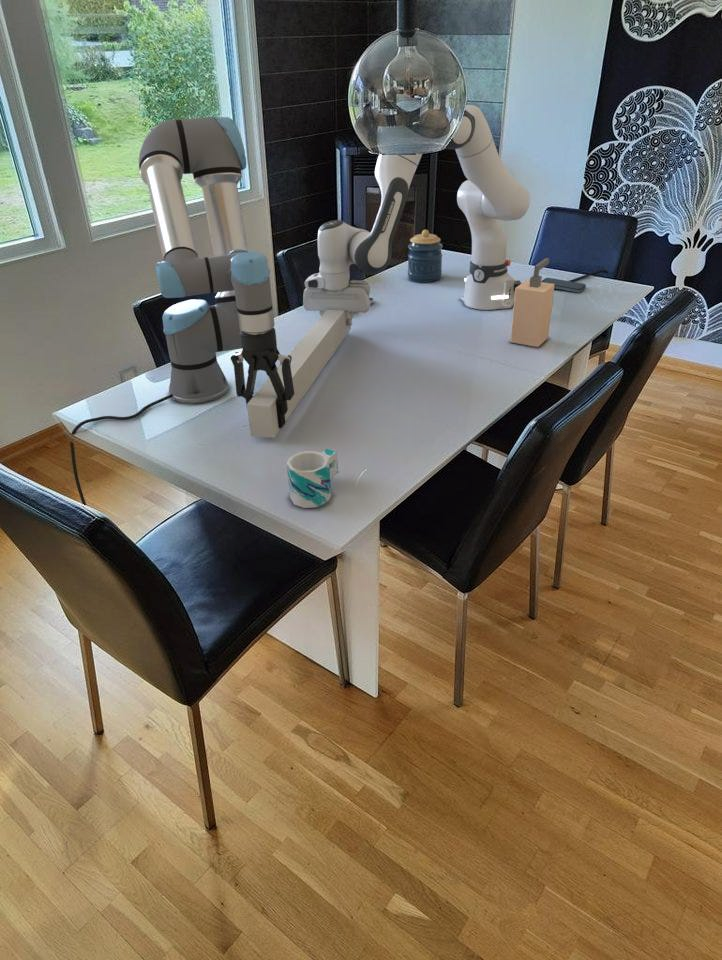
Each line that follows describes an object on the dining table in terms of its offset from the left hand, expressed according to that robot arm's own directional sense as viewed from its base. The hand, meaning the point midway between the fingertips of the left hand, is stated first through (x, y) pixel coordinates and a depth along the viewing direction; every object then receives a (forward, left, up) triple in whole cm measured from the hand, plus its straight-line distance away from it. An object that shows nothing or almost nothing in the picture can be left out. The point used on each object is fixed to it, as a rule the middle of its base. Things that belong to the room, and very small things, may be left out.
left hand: (269, 424), depth 156 cm
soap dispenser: (+87, -25, -2) cm, 91 cm away
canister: (+123, +36, -2) cm, 128 cm away
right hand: (+57, +25, +2) cm, 62 cm away
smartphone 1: (+82, +39, -2) cm, 91 cm away
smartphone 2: (+138, -13, -2) cm, 139 cm away
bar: (+28, +12, -1) cm, 31 cm away
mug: (-13, -25, -2) cm, 29 cm away
